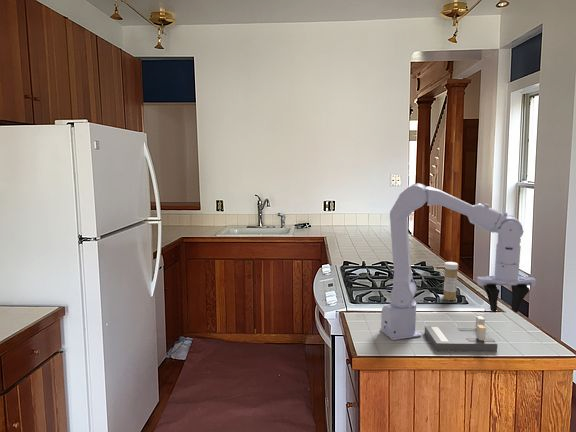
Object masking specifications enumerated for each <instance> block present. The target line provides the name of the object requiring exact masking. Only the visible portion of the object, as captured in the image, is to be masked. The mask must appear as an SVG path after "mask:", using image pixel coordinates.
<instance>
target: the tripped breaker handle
mask: <svg viewBox="0 0 576 432" xmlns="http://www.w3.org/2000/svg"><path fill="white" fill-rule="evenodd" d="M486 331H487V328H486V326H485V325H484V326H483V325H477V330H476V337H477V338H478V339H479V340H485V335H486V333H487V332H486Z"/></svg>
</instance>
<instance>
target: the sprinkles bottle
mask: <svg viewBox="0 0 576 432" xmlns="http://www.w3.org/2000/svg"><path fill="white" fill-rule="evenodd" d="M458 269H459V264H458V263H457V262H455V261H445V262H444V280H443V295H442V299H444V300H445V301H450V300H453V301H456V300H457V290H458ZM455 299H456V300H455Z"/></svg>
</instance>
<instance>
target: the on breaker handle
mask: <svg viewBox="0 0 576 432" xmlns="http://www.w3.org/2000/svg"><path fill="white" fill-rule="evenodd" d="M485 320H486V319H485V318H484V317H483V316H482V315H476V316H475V326H476V328H477V325H483V326H484V327H485V324H486V322H485Z"/></svg>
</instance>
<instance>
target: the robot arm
mask: <svg viewBox="0 0 576 432" xmlns="http://www.w3.org/2000/svg"><path fill="white" fill-rule="evenodd" d="M426 203H427V204H426ZM425 204H426V205H427V206H429V207H430V206H438V205H439V206H442V207H445V208H446V209H450V210H451V211H454V212H457V213H459V214H461V215H464V216H466V217H467V219H468V221H469V223H470V224H472V225H475V226H477V227H479V228H481V229H484V230H486V231H487V232H490V233H492V234H493V233H494V234H495V233H497V234H498V235H497V243H496V247H495V248H496V249H495V260H494V261H495V262H494V275H487V276H477V277H476V284H477V285H478V286H479V287H483V289H484V290H485V293H486V296H487V298H488V303H489V308H490V311H491V312H492V313H497V310H498V298H499V293H500V289H499V288H498V286H511V311H513V312H514V313H518V312H519V310H520V307H521V304H522V302H523V300H524V299H525V297H526V296H527V295H528V294H529V293H530V288H529V287H528V286H530V287H536V280H537V279H536V278H534V277H532V276H530V277H529V276H519V275H520V263H521V261H520V259H521V249H522V247H521V246H522V245H521V242H522V241H521V237H522V236H523V235H524V230H523V225H522V223H521V222H520V220H519V219H517V218H516V217H514V216H513V215H511V214H508V212H505V211H503V212H501V211H498V210H496V209H494V208H491V205H490V204H488V203H484V204H482V203H477V204H473V205H472V204H470V203H469V202H466V201H465V200H462V199H460V198H458V197H456V196H453V195H451V194H449V193H447V192H445V191H443V190H441V189H438V188H435V187H432V186H430V185H429V186H426V185H425V184H423V183H419V182H417V183H414V184H411V185H410V186H409V187H407V188H406V189H404V190H403V191H402V192H401V193H400V194H399V195H398V198H397V199H396V201H395V202H394V204H393V206H392V207H391V209H390V211H389V222H390V223H389V225H390V236H391V237H390V238H391V250H392V263H393V278H392V289H391V291H390V295H389V296H390V300H391V301H390V303H389V304H387V305H384V306H383V307H382V309H381V321H380V328H379V330H380V331H381V332H382V333H383V334H384V335H386V336H387V337H388V338H390V339H391V340H392V341H396V340H402V339H408V338H410V339H411V338H418V337H422V334H421V332H420V331H417V330H416V321H417V317H416V316H417V302H416V301H415V299H414V297H415V295H416V294H417V292H418V291H417V289H418V287H417V284H416V283H415V281H414V276H413V273H412V267H411V265H412V264H411V252H410V237H409V235H410V234H409V223H408V221H409V220H408V217H410V215H411V214H412V213H413V212H414V211H417V210H418V209H419V208H421V207H424V205H425Z"/></svg>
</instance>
